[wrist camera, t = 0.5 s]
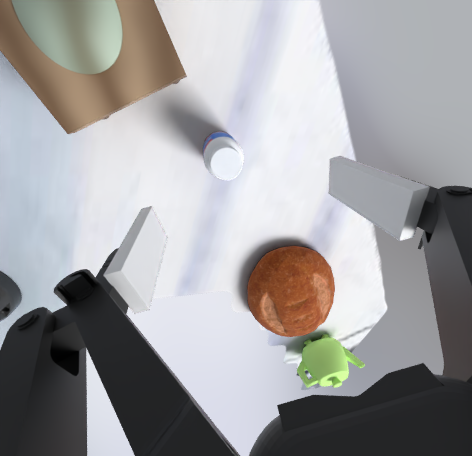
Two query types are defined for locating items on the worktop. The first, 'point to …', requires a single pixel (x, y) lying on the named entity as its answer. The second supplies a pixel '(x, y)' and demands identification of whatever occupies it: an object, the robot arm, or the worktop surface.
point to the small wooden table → (88, 54)
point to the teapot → (326, 362)
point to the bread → (291, 291)
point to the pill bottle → (222, 156)
